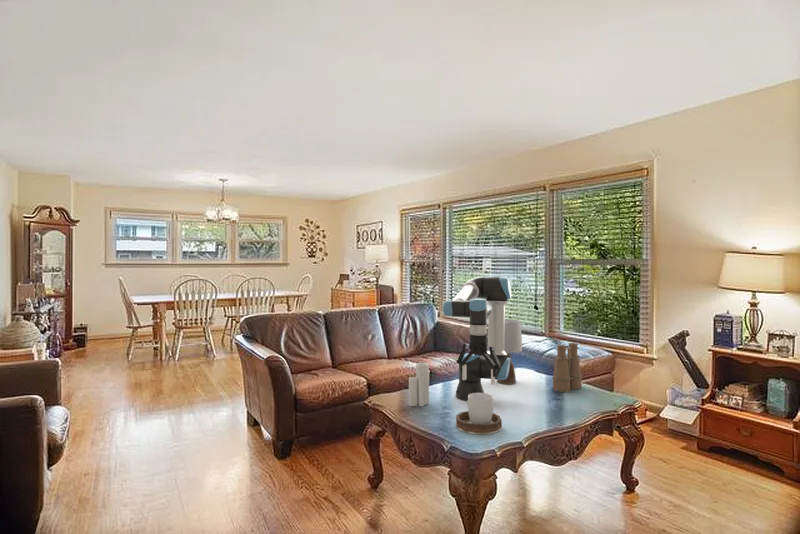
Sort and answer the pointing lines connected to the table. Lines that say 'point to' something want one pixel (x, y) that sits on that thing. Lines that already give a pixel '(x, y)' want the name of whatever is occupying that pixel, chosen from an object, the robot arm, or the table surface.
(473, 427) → the holder
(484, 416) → the mug
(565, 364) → the binoculars
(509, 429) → the table surface
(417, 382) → the vase
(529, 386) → the table surface
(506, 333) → the lamp
